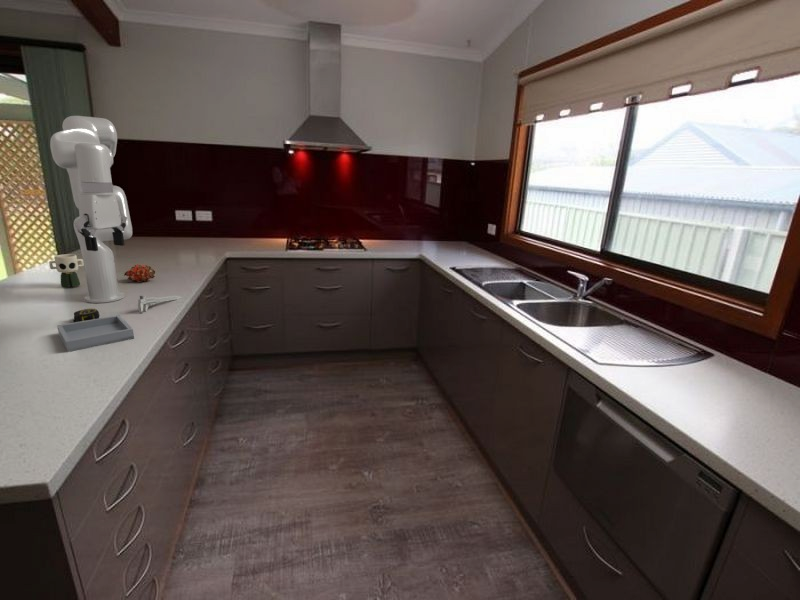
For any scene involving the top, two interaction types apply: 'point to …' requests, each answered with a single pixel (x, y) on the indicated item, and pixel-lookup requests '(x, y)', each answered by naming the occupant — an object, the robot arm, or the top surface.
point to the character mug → (67, 269)
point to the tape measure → (86, 315)
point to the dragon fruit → (140, 273)
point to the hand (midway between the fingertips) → (106, 247)
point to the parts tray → (94, 332)
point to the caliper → (152, 301)
